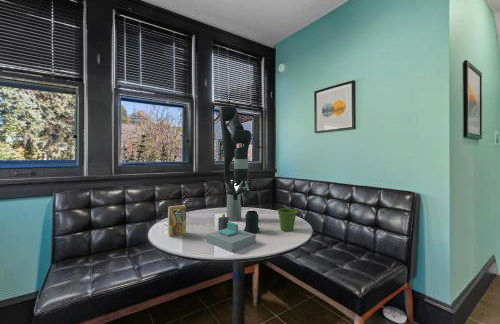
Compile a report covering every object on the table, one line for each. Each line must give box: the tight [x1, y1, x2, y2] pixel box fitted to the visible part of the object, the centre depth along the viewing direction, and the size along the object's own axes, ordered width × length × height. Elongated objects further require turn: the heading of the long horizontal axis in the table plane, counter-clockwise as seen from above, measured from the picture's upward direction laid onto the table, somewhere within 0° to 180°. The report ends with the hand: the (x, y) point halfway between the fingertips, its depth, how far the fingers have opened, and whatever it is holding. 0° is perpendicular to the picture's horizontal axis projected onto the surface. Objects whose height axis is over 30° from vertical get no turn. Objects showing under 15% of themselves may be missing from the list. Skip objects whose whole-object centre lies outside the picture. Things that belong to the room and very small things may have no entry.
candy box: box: [167, 204, 187, 237], centre depth 123 cm, size 9×4×15 cm, turn 119°
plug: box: [217, 213, 229, 231], centre depth 127 cm, size 4×4×10 cm
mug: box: [243, 210, 261, 234], centre depth 130 cm, size 12×9×11 cm
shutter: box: [219, 221, 239, 236], centre depth 113 cm, size 7×7×4 cm
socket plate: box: [206, 228, 257, 253], centre depth 111 cm, size 16×18×4 cm
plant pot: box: [276, 208, 298, 232], centre depth 132 cm, size 12×12×11 cm
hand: (241, 199), depth 119 cm, fingers open, 7 cm apart
